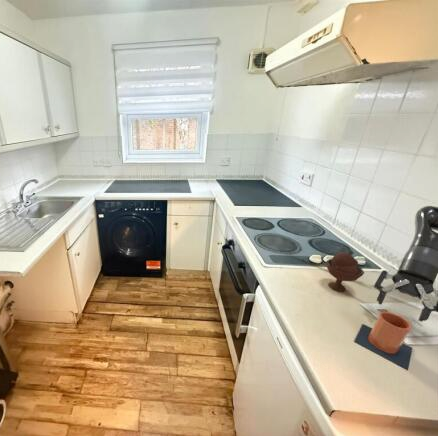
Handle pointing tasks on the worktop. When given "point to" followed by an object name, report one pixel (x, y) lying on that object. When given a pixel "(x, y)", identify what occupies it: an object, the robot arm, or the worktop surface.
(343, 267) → the ice cream bowl
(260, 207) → the worktop surface
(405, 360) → the place mat
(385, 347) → the terracotta cup
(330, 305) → the worktop surface
